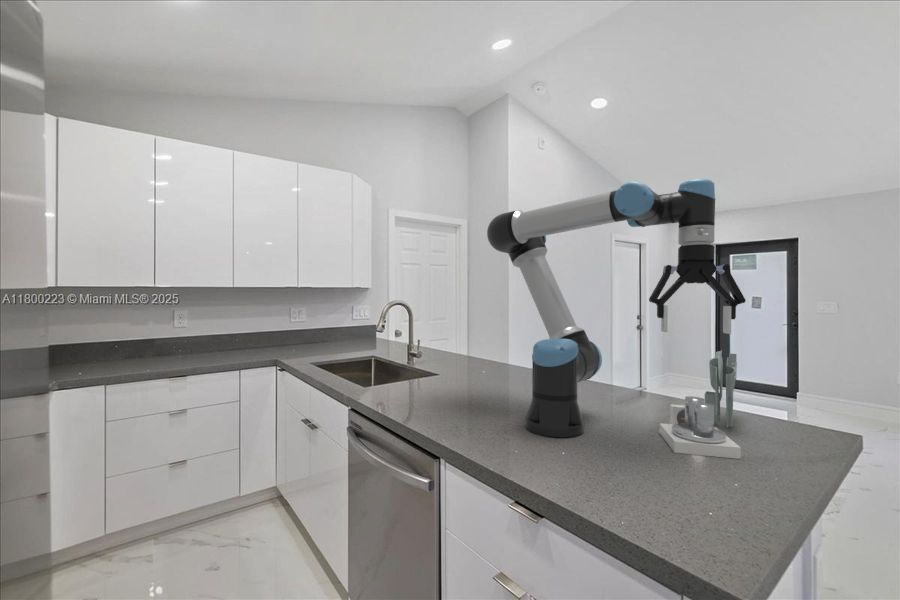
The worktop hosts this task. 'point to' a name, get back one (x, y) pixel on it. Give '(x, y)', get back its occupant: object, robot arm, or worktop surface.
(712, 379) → the bracket
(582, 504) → the worktop surface
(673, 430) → the pan
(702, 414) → the grey metal knob
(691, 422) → the cylinder
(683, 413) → the scale
